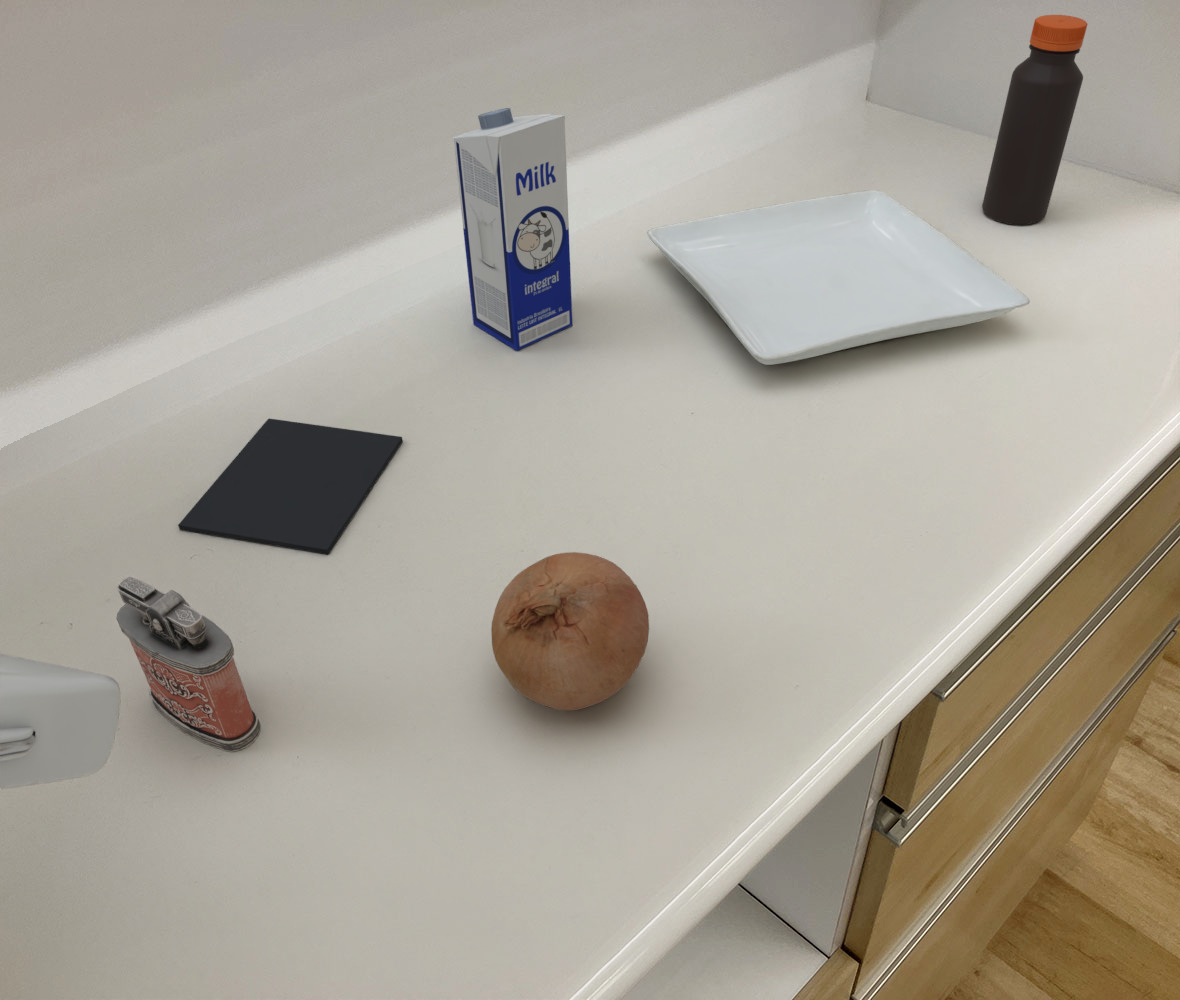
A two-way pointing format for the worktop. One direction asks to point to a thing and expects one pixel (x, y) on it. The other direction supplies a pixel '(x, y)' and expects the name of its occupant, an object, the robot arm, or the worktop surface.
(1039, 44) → the bottle
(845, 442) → the worktop surface
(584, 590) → the onion
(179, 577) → the worktop surface
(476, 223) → the milk carton
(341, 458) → the mat
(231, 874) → the worktop surface
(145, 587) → the lighter
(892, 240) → the square plate
